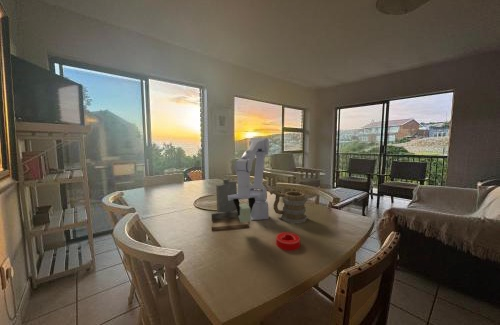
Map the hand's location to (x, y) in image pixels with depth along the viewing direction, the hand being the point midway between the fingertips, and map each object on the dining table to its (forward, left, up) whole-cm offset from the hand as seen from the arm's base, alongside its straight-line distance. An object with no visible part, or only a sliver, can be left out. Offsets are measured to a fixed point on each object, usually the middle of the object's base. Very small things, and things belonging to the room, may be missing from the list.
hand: (244, 214), depth 93 cm
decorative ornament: (-16, +14, -9) cm, 23 cm away
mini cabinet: (0, 0, -2) cm, 2 cm away
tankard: (-26, -13, -9) cm, 30 cm away
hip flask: (+6, -30, -9) cm, 32 cm away
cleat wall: (+6, -11, -9) cm, 15 cm away
